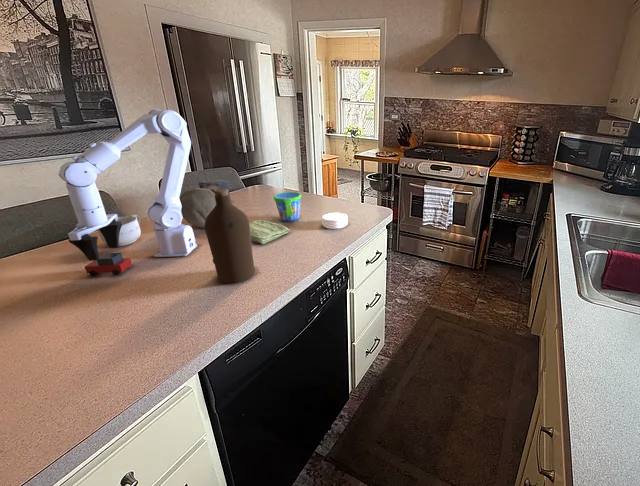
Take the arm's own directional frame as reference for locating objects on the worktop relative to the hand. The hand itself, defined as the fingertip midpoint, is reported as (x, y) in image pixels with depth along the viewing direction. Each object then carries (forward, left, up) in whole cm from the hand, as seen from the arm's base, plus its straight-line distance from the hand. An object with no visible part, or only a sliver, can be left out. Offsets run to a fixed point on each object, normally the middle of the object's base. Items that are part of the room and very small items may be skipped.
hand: (104, 253), depth 91 cm
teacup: (+9, -22, -6) cm, 25 cm away
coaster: (-61, -32, -6) cm, 69 cm away
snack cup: (-42, -40, -6) cm, 58 cm away
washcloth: (-35, -24, -6) cm, 43 cm away
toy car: (0, 0, -6) cm, 6 cm away
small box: (-4, -64, -6) cm, 64 cm away
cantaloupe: (-11, -34, -6) cm, 36 cm away
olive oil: (-36, +5, -6) cm, 37 cm away
